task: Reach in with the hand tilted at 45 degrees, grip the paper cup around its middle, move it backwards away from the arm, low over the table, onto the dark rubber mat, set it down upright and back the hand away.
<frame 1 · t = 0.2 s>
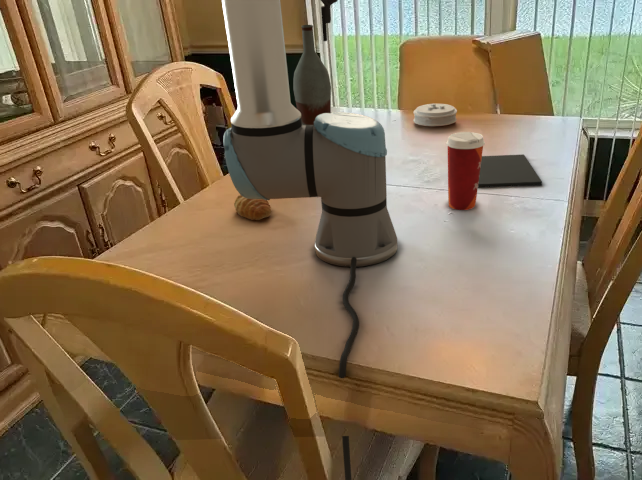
hand: (295, 42, 138), 28 cm above the table, tool pointing down, fingers open, 13 cm apart
pastry: (255, 213, 132), on the table
bottle: (317, 157, 162), on the table
dark mat: (502, 171, 145), on the table
lid: (434, 124, 182), on the table
paper cup: (461, 206, 130), on the table
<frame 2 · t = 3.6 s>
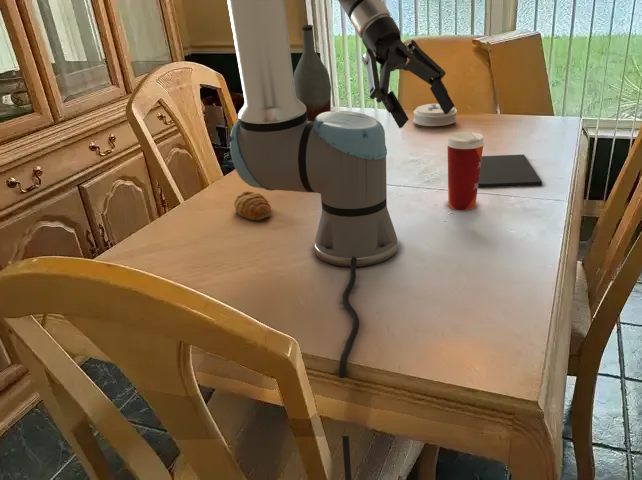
hand: (427, 117, 127), 16 cm above the table, tool tilted 45°, fingers open, 13 cm apart
nothing on the table moved.
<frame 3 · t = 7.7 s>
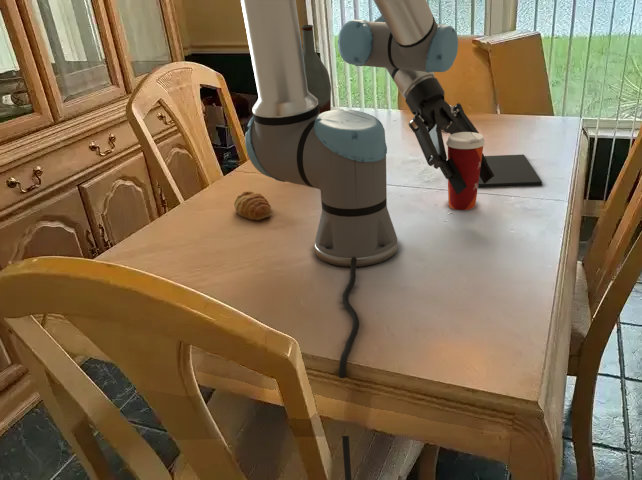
hand: (475, 184, 125), 5 cm above the table, tool tilted 45°, fingers closed on paper cup, 8 cm apart
paper cup: (461, 206, 130), on the table, touching gripper
everything else where it was.
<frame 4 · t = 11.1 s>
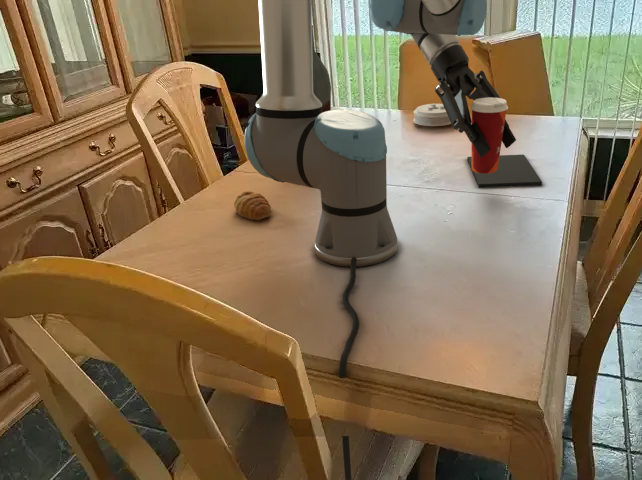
hand: (498, 148, 130), 9 cm above the table, tool tilted 45°, fingers closed on paper cup, 8 cm apart
paper cup: (484, 170, 135), point 4 cm above the table, touching gripper
everything else where it was.
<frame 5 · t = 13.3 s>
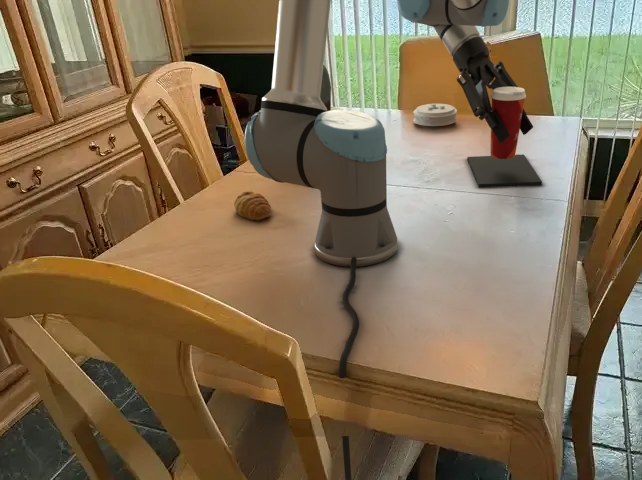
hand: (516, 135, 137), 9 cm above the table, tool tilted 45°, fingers closed on paper cup, 8 cm apart
paper cup: (502, 156, 142), point 4 cm above the table, touching gripper
everything else where it was.
when the fingers open (6 cm above the table, at t = 14.8 s): paper cup stays where it is, resting on dark mat.
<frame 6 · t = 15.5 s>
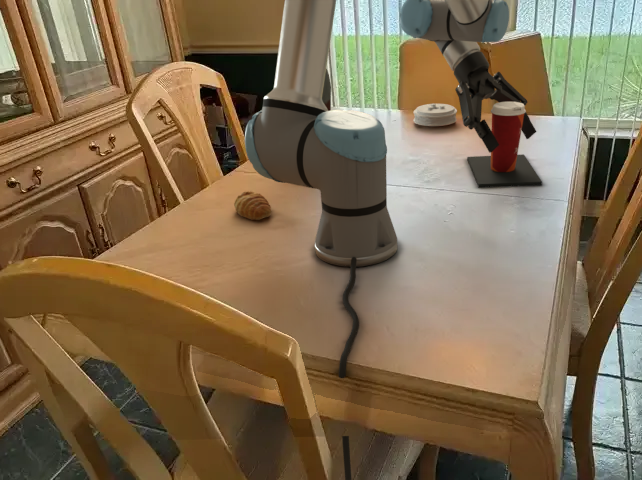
hand: (513, 142, 140), 7 cm above the table, tool tilted 45°, fingers open, 13 cm apart
paper cup: (502, 169, 145), point 1 cm above the table, touching dark mat
everything else where it was.
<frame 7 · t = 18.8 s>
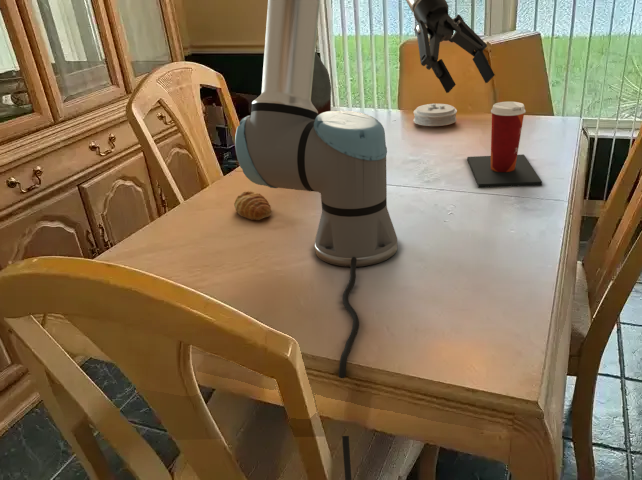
hand: (471, 84, 141), 18 cm above the table, tool tilted 45°, fingers open, 13 cm apart
nothing on the table moved.
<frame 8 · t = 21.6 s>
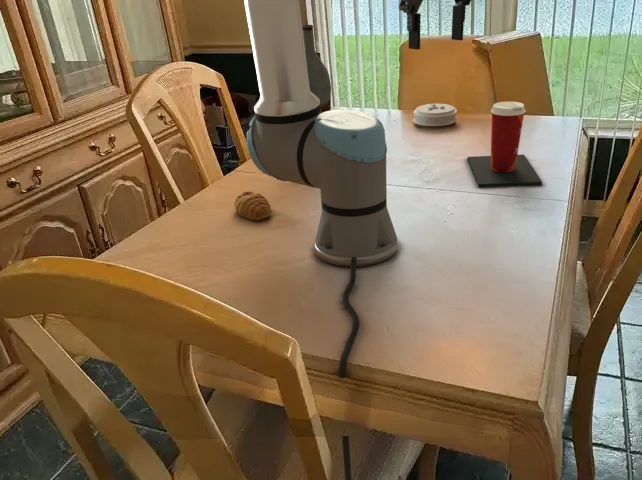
hand: (436, 44, 134), 27 cm above the table, tool pointing down, fingers open, 13 cm apart
nothing on the table moved.
at the end: paper cup inside the target area on the dark mat (0.0 cm from its centre), point 0.6 cm above the dark mat's base; paper cup tilted 0°; paper cup moved 23.4 cm from its start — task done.
